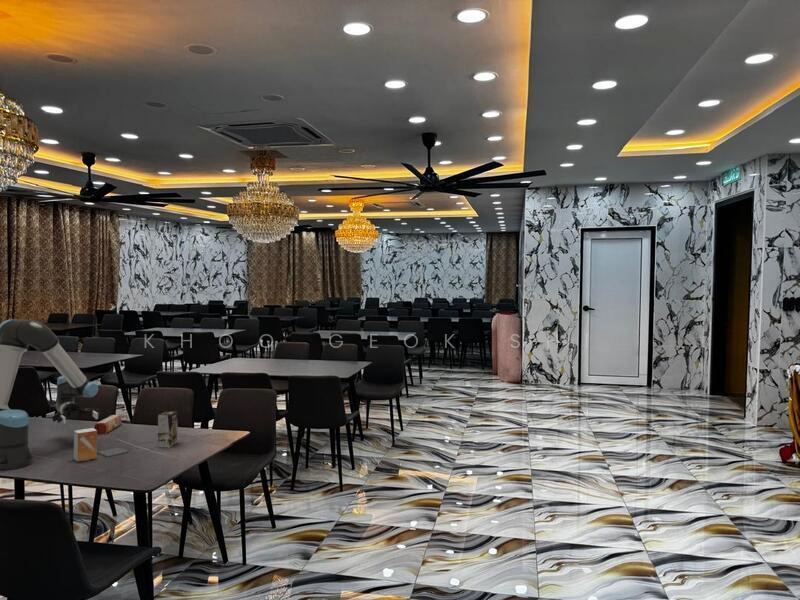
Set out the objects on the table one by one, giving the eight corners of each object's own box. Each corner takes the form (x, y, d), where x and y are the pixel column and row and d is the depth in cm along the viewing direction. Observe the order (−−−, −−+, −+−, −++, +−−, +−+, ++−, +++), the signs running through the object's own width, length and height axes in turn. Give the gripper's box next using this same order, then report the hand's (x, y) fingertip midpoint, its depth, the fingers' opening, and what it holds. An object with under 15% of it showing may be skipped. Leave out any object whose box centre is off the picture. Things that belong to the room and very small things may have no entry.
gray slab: (107, 457, 259) (107, 456, 259) (97, 453, 265) (97, 451, 265) (128, 452, 267) (128, 451, 267) (118, 448, 273) (118, 447, 273)
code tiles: (84, 461, 253) (84, 460, 253) (78, 458, 257) (78, 458, 257) (92, 459, 256) (92, 459, 256) (86, 456, 260) (86, 456, 260)
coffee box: (170, 447, 276) (170, 415, 276) (157, 447, 276) (157, 414, 276) (177, 442, 285) (178, 411, 285) (165, 442, 285) (165, 410, 285)
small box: (77, 462, 251) (77, 433, 251) (73, 458, 256) (73, 430, 256) (97, 458, 257) (97, 430, 257) (93, 455, 262) (93, 427, 261)
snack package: (110, 425, 319) (110, 413, 319) (122, 425, 319) (122, 413, 319) (93, 435, 298) (93, 422, 297) (106, 435, 298) (106, 422, 298)
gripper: (98, 413, 288) (110, 422, 272) (41, 421, 271) (50, 431, 256) (97, 399, 288) (110, 406, 272) (40, 406, 271) (50, 414, 255)
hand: (81, 418), depth 264 cm, fingers open, 13 cm apart
